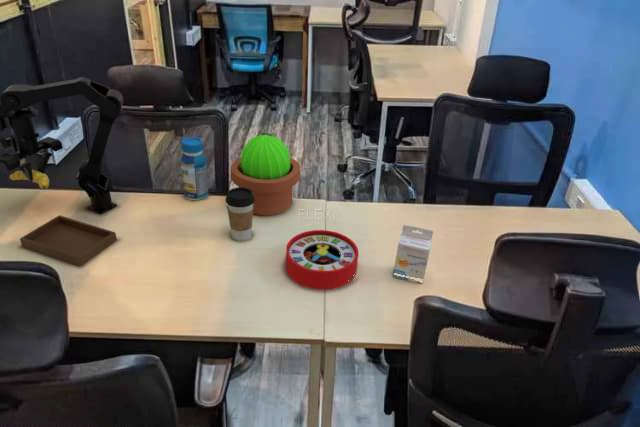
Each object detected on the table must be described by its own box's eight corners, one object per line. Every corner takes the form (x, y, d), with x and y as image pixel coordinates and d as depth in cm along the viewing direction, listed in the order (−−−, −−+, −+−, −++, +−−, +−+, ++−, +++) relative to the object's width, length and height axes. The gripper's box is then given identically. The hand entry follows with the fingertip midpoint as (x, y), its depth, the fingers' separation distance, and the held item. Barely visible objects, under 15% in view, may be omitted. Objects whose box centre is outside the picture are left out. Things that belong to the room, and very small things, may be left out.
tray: (117, 240, 149) (115, 232, 147) (80, 266, 137) (78, 258, 136) (61, 222, 155) (59, 214, 153) (22, 246, 144) (19, 238, 142)
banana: (59, 185, 153) (56, 175, 152) (43, 193, 149) (40, 182, 147) (24, 173, 159) (21, 163, 157) (7, 180, 154) (4, 170, 153)
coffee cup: (222, 238, 152) (219, 195, 144) (236, 225, 159) (234, 182, 151) (246, 246, 150) (245, 202, 142) (260, 231, 156) (259, 189, 149)
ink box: (392, 277, 140) (399, 233, 133) (395, 267, 145) (402, 223, 137) (422, 284, 138) (431, 240, 131) (425, 274, 143) (434, 230, 135)
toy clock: (312, 222, 152) (371, 245, 143) (311, 238, 155) (369, 262, 146) (271, 254, 137) (334, 282, 128) (271, 271, 140) (332, 300, 131)
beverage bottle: (210, 200, 171) (206, 145, 161) (184, 202, 169) (178, 146, 159) (208, 188, 178) (204, 134, 168) (183, 189, 176) (178, 136, 166)
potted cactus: (275, 227, 159) (276, 154, 146) (219, 207, 167) (215, 136, 154) (309, 198, 176) (313, 130, 163) (257, 181, 184) (256, 116, 171)
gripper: (32, 115, 156) (43, 161, 164) (-27, 135, 141) (-11, 184, 150) (58, 122, 152) (68, 169, 160) (0, 144, 138) (15, 194, 146)
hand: (36, 178), depth 154 cm, fingers closed on banana, 3 cm apart
